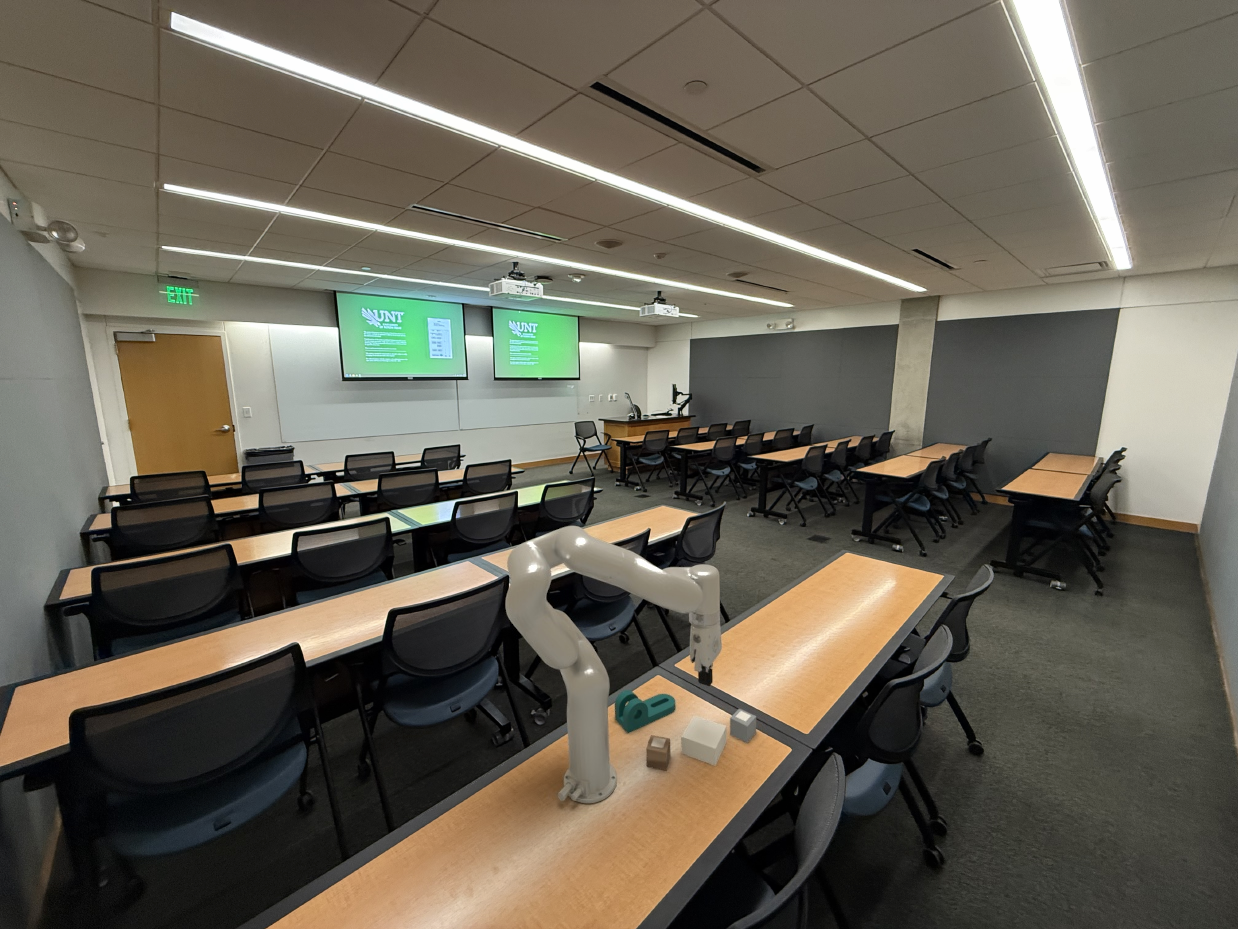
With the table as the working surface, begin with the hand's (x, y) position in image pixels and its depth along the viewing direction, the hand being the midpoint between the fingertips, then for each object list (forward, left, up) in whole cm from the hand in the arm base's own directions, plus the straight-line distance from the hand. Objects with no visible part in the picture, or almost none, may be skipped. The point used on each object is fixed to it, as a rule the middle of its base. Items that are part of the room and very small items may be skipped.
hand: (705, 683), depth 121 cm
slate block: (+10, -7, -18) cm, 22 cm away
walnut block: (-10, +8, -18) cm, 22 cm away
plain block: (0, 0, -18) cm, 18 cm away
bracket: (+4, +19, -19) cm, 27 cm away
